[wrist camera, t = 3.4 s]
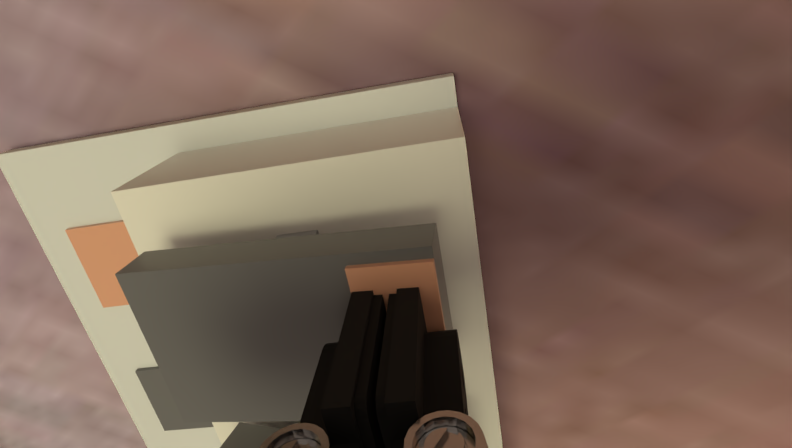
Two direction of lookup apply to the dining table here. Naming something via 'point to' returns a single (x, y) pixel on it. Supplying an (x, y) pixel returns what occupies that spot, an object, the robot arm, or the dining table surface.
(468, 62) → the dining table surface
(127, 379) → the switch board
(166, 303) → the switch
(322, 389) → the robot arm
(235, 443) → the switch middle
